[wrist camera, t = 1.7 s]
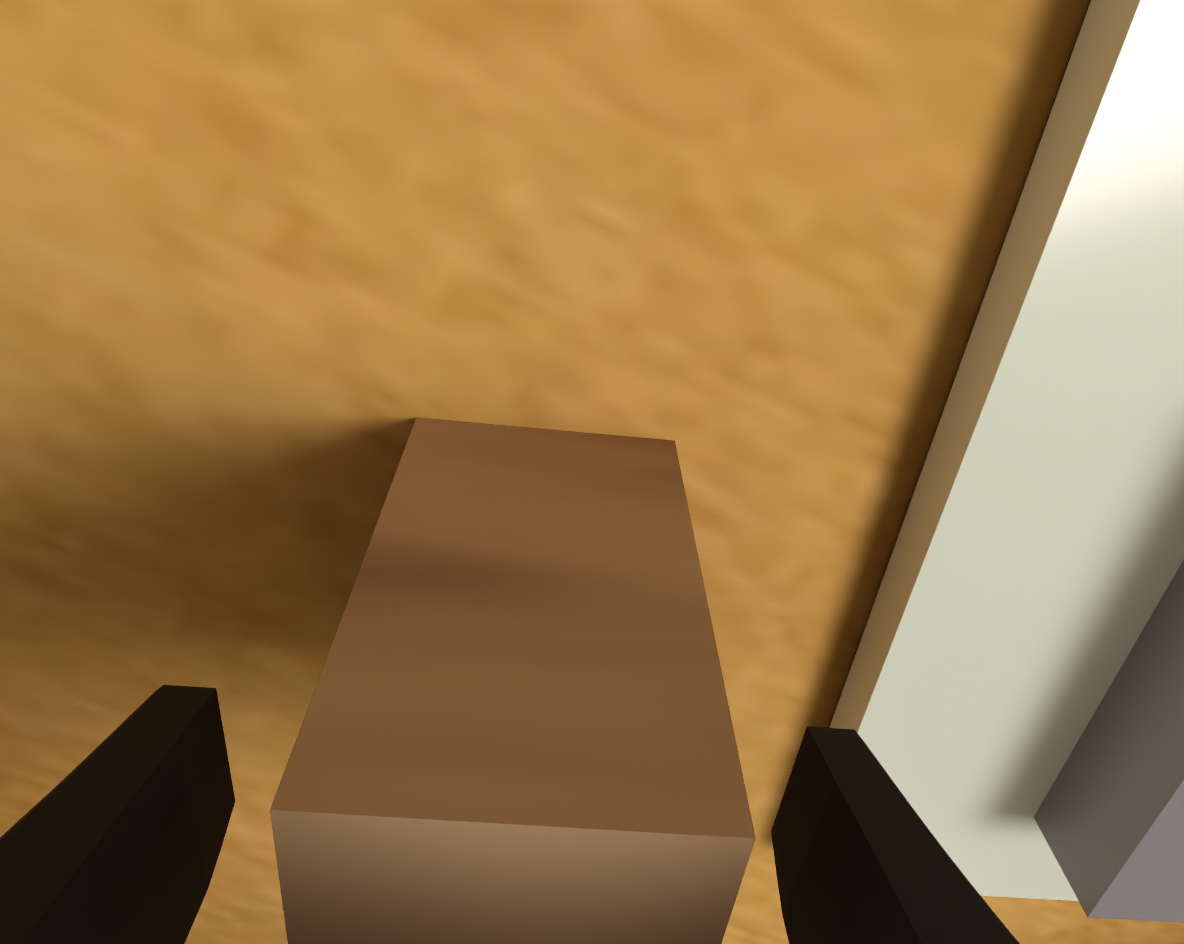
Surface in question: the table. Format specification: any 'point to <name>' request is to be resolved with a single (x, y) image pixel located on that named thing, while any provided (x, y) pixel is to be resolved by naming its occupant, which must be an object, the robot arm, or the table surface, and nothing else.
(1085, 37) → the board with square socket
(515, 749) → the brown wooden block
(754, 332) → the table surface
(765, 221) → the table surface
